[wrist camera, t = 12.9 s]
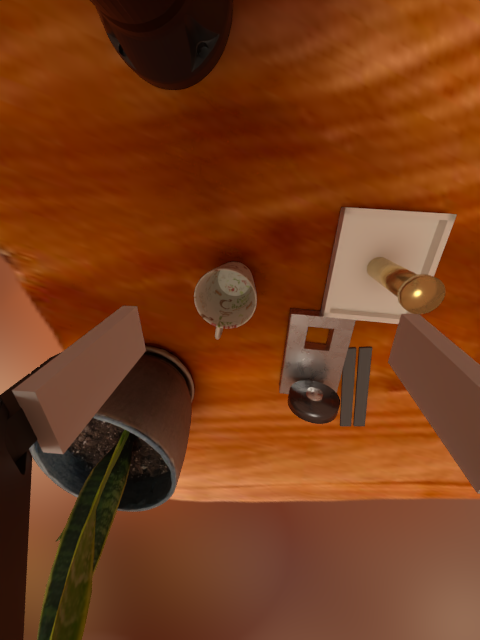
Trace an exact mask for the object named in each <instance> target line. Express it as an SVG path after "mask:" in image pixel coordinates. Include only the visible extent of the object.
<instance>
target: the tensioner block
mask: <svg viewBox="0 0 480 640" xmlns="http://www.w3.org/2000/svg"><path fill="white" fill-rule="evenodd" d="M354 324H355V320H351V319H340V318H330V317H323V315H322V313H321V311H316V310H305V309H295V308H290V315H289V322H288V329H287V335H286V342H285V349H284V356H283V362H282V369H281V376H280V383H279V390H280V393H285V394H289V396H288V405H289V407H290V409H291V411H292V412H293V413H294V414H295V415H296V416H298V417H299V418H301V419H303V420H305V421H308V422H311V423H316V424H323V423H328V422H331V421H332V420H334V419H335V417H336V416H337V413H338V409H339V405H340V399H339V396H338V395H337V393H336V392H337V388H338V385H339V381H340V377H341V373H342V369H343V366H344V362H345V358H346V354H347V351H348V347H349V343H350V339H351V335H352V332H353V328H354ZM308 326H310V327H320V328H330V330H329V334H328V339H327V343H326V344H322V343H313V342H305V339H306V334H307V329H308Z"/></svg>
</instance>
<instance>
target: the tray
mask: <svg viewBox="0 0 480 640" xmlns="http://www.w3.org/2000/svg"><path fill="white" fill-rule="evenodd" d="M456 215H457V214H445V213H429V212H413V211H397V210H381V209H365V208H349V207H341V212H340V217H339V222H338V227H337V232H336V237H335V242H334V247H333V252H332V257H331V262H330V267H329V272H328V277H327V282H326V287H325V292H324V297H323V302H322V307H321V313H322V315H323V317H330V318H340V319H351V320H362V321H372V322H383V323H393V324H399V320H400V317H401V314H413V313H410V312H408V311H407V310H405V309H404V308H403V307H402V306H401V305H400V304H399V302H398V298H397V296H395V295H394V294H393V293H391V292H390V291H389V290H387V289H386V288H385V287H384V286H382V285H381V284H380V283H378V282H377V281H376V280H374V279H373V278H372V277H370V276H369V275H368V273H367V265H368V264H369V262H370V261H371V260H372V259H374V258H376V257H384V258H386V259H388V260H390V261H392V262H394V263H396V264H398V265H400V266H402V267H404V268H406V269H408V270H410V271H412V272H414V273H416V274H417V275H419V274H428V275H431V276H433V277H434V274H435V271H436V269H437V266H438V263H439V261H440V258H441V255H442V253H443V250H444V247H445V245H446V242H447V239H448V237H449V234H450V231H451V229H452V226H453V223H454V221H455V218H456Z"/></svg>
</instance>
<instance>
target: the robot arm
mask: <svg viewBox="0 0 480 640" xmlns="http://www.w3.org/2000/svg"><path fill="white" fill-rule="evenodd" d="M90 1H91V2H92V3H93V4H94V5H95V6H96V9H97V11H98V14H99V16H100V18H101V21H102V23H103V25H104V28H105V30H106V33H107V35H108V37H109V39H110V41H111V43H112V44H113V46H114V48H115V49H116V51H117V52H118V54H119V55H120V56H121V58H122V59H123V60H124V61H125V63H126V64H127V65H128V66H129V67H130V68H131V69H132V70H133V71H135V72H136V73H137V74H138V75H139V76H140V77H141V78H142V79H144V80H145V81H147V82H148V83H150V84H152V85H154V86H157V87H159V88H163V89H169V90H177V89H183V88H187V87H190V86H192V85H194V84H196V83H197V82H199V81H200V80H202V79H203V78H204V77H205V76H206V75H207V74H208V73H209V72H210V71H211V70H212V69H213V68H214V66H215V65H216V63H217V62H218V60H219V58H220V57H221V55H222V52H223V50H224V48H225V45H226V43H227V40H228V36H229V32H230V28H231V22H232V11H233V0H90ZM145 351H146V348H145V343H144V339H143V334H142V329H141V324H140V319H139V314H138V309H137V306H122V307H121V308H120V309H118V310H117V311H116V312H114V313H113V314H112V315H110V316H109V317H108V318H106V319H105V320H104V321H102V322H101V323H100V324H99V325H97V326H96V327H95V328H93V329H92V330H91V331H89V332H88V333H87V334H85V335H84V336H83V337H81V338H80V339H79V340H78V341H76V342H75V343H74V344H72V345H71V346H70V347H68V348H67V349H66V350H64V351H63V352H61V353H59V354H57V355H55V356H53V357H51V358H49V359H48V360H47V361H45V362H44V363H43V364H41V365H40V367H37V368H36V369H35V370H33V371H32V372H31V374H28V375H27V376H25V377H24V378H23V379H21V380H20V381H18V382H17V383H16V384H14V385H13V386H12V387H10V388H9V389H8V390H6V391H5V392H4V393H2V394H1V395H0V640H23V633H24V614H25V592H26V573H27V552H28V531H29V511H30V510H29V509H30V489H31V470H32V455H31V452H30V450H29V448H30V447H31V446H32V445H33V444H34V443H35V442H36V441H38V443H39V445H40V447H41V449H42V451H43V452H45V453H56V454H64V453H65V452H66V450H67V449H68V448H69V447H70V445H71V444H72V443H73V442H74V440H75V439H76V438H77V437H78V435H79V434H80V433H81V432H82V430H83V429H84V428H85V427H86V425H87V424H88V423H89V422H90V420H91V419H92V418H93V417H94V415H95V414H96V413H97V411H98V410H99V409H100V408H101V406H102V405H103V404H104V403H105V401H106V400H107V399H108V398H109V396H110V395H111V394H112V393H113V391H114V390H115V389H116V388H117V386H118V385H119V384H120V383H121V381H122V380H123V379H124V378H125V376H126V375H127V374H128V373H129V371H130V370H131V369H132V368H133V366H134V365H135V364H136V363H137V361H138V360H139V359H140V358H141V356H142V355H143V354H144V353H145ZM388 363H389V364H390V366H391V367H392V369H393V370H394V372H395V373H396V374H397V376H398V377H399V379H400V380H401V382H402V383H403V385H404V386H405V388H406V389H407V391H408V392H409V394H410V395H411V397H412V398H413V399H414V401H415V402H416V404H417V405H418V407H419V408H420V410H421V411H422V413H423V414H424V416H425V417H426V419H427V420H428V422H429V423H430V424H431V426H432V427H433V429H434V430H435V432H436V433H437V435H438V436H439V438H440V439H441V441H442V442H443V444H444V445H445V446H446V448H447V449H448V451H449V452H450V454H451V455H452V457H453V458H454V460H455V461H456V463H457V464H458V466H459V467H460V469H461V470H462V471H463V473H464V474H465V476H466V477H467V479H468V480H469V482H470V483H471V485H472V486H473V488H474V489H475V491H476V492H477V493H479V494H480V365H479V364H478V363H477V362H475V361H474V360H473V359H472V358H471V357H469V356H468V355H467V354H466V353H465V352H463V351H462V350H461V349H460V348H459V347H457V346H456V345H455V344H454V343H453V342H451V341H450V340H449V339H448V338H447V337H446V336H444V335H443V334H442V333H441V332H440V331H438V330H437V329H436V328H435V327H434V326H432V325H431V324H430V323H429V322H428V321H426V320H425V319H424V318H423V317H422V316H420V315H419V314H401V317H400V320H399V324H398V328H397V331H396V335H395V339H394V342H393V346H392V350H391V353H390V357H389V361H388Z"/></svg>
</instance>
